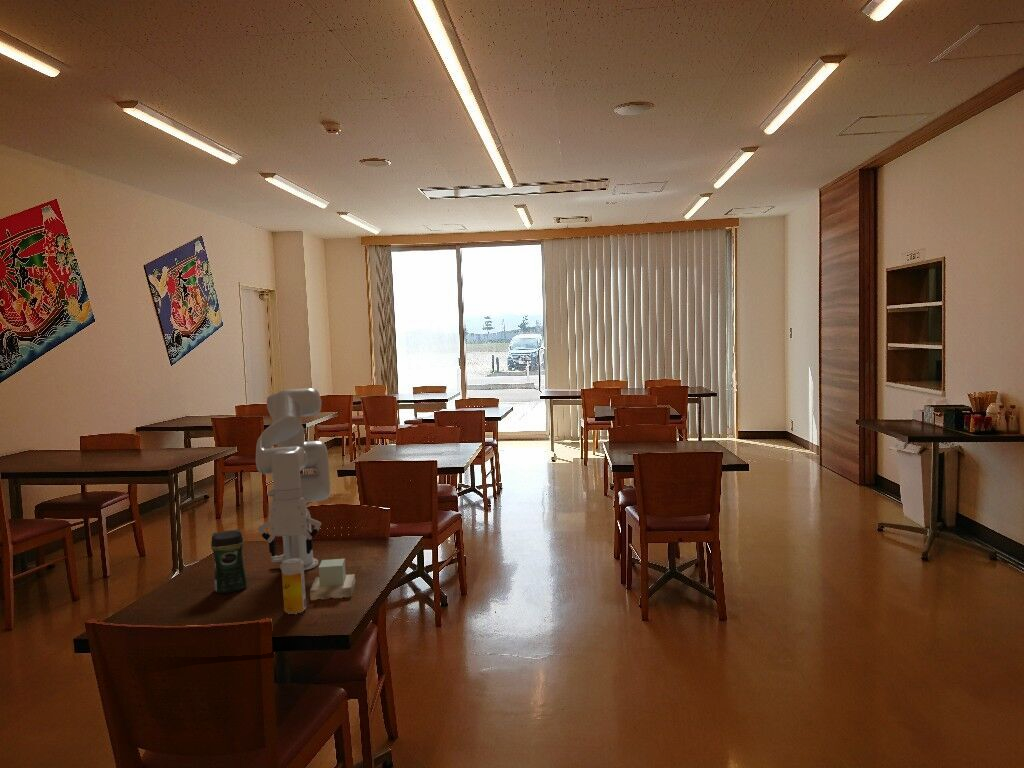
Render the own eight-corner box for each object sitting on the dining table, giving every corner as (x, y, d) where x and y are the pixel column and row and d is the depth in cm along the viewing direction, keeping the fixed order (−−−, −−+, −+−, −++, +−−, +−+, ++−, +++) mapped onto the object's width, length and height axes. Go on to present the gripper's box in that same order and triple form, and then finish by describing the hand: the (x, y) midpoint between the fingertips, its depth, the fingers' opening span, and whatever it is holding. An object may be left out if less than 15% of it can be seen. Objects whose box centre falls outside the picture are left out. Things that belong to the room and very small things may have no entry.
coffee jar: (246, 582, 238) (242, 526, 236) (247, 590, 231) (243, 532, 229) (214, 587, 234) (209, 530, 233) (214, 595, 227) (210, 536, 225)
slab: (310, 600, 219) (309, 590, 219) (316, 586, 231) (316, 577, 231) (351, 596, 221) (351, 587, 221) (355, 583, 233) (354, 574, 232)
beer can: (287, 608, 214) (283, 557, 213) (308, 606, 214) (305, 556, 213) (282, 616, 208) (278, 564, 207) (304, 614, 208) (300, 562, 207)
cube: (319, 586, 222) (318, 567, 221) (323, 579, 229) (321, 560, 228) (343, 585, 223) (342, 565, 222) (345, 577, 230) (344, 558, 229)
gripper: (253, 499, 204) (257, 560, 205) (316, 494, 206) (320, 555, 207) (259, 493, 211) (263, 552, 212) (320, 489, 213) (324, 547, 214)
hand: (291, 553), depth 209 cm, fingers open, 9 cm apart
